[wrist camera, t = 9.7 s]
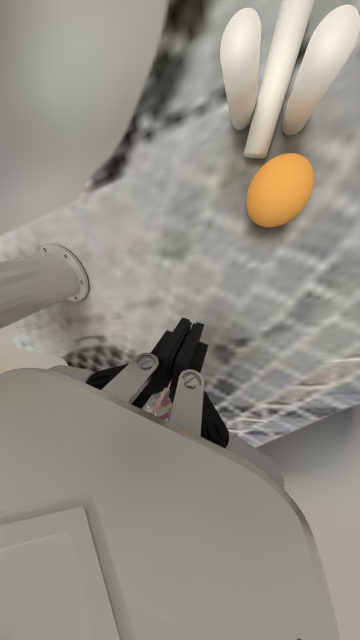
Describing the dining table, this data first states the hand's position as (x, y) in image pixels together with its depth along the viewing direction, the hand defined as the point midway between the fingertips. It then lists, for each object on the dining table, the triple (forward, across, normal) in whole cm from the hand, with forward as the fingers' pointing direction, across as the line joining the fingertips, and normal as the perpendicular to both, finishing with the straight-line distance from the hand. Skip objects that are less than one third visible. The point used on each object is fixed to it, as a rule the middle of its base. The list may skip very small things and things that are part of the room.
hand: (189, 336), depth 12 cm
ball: (+14, -3, -10) cm, 18 cm away
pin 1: (+17, +2, -16) cm, 24 cm away
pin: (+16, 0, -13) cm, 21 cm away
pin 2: (+17, -3, -16) cm, 24 cm away
